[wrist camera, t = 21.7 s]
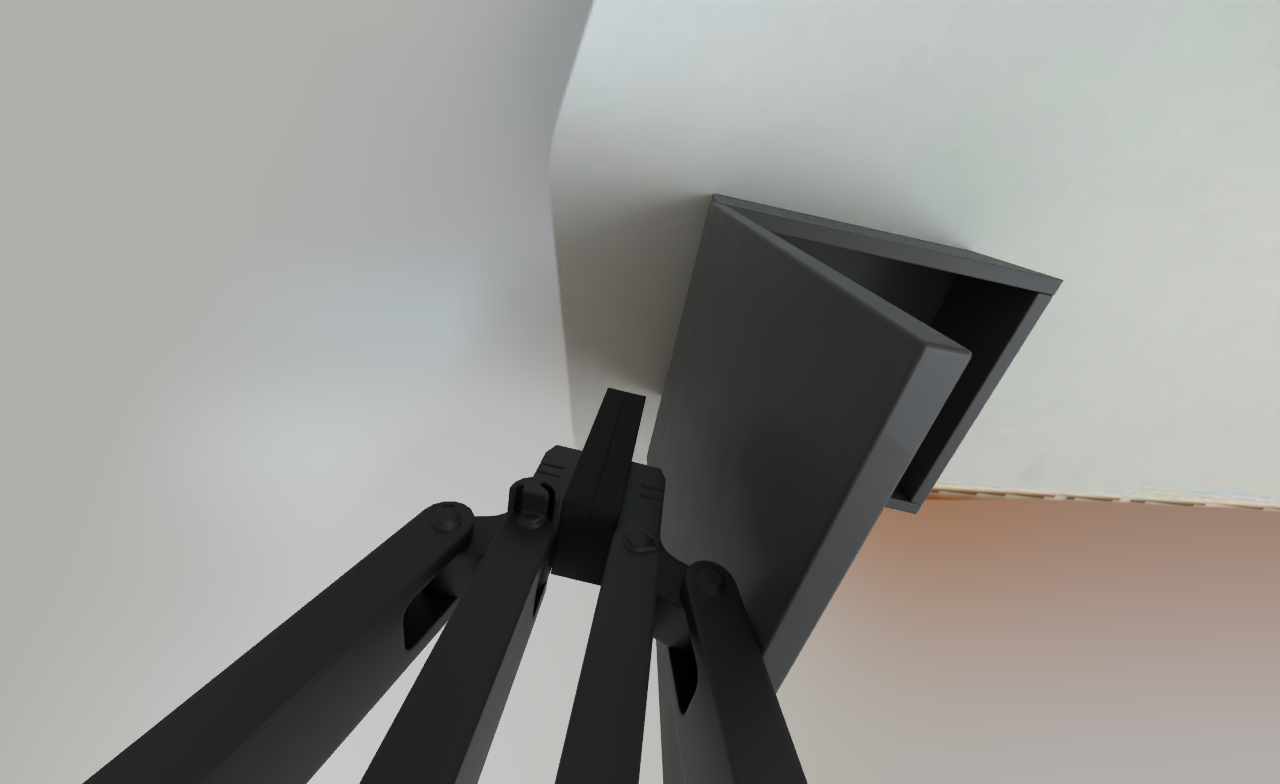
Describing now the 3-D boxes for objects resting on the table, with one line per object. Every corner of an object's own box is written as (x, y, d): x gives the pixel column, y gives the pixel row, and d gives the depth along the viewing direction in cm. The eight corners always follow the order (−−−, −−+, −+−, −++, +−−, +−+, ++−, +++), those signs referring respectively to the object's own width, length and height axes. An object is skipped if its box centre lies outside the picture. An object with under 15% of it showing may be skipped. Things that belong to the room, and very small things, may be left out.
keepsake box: (974, 251, 30) (1064, 280, 23) (873, 445, 37) (916, 514, 30) (713, 193, 30) (717, 202, 23) (662, 396, 37) (653, 453, 30)
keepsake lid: (978, 352, 6) (923, 342, 6) (692, 840, 13) (665, 839, 13) (725, 205, 23) (710, 201, 23) (658, 458, 30) (646, 456, 30)
